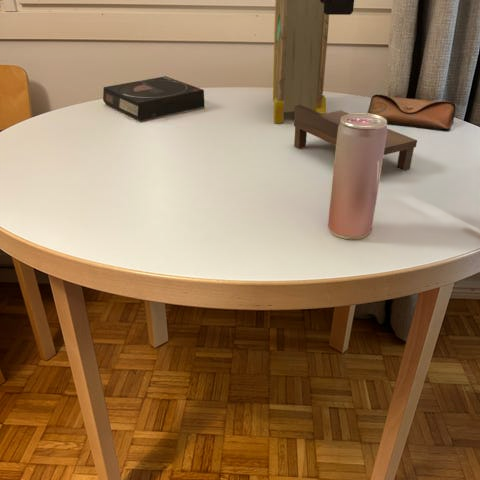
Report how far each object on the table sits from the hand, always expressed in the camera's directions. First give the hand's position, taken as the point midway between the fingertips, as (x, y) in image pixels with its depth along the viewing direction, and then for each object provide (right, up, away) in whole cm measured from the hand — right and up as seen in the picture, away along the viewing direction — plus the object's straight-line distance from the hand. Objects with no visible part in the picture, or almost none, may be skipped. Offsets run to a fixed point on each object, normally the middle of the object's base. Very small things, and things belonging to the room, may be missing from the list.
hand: (335, 8), depth 62 cm
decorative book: (+1, +9, +56) cm, 56 cm away
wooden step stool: (+8, -7, +33) cm, 35 cm away
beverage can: (+4, -25, +11) cm, 27 cm away
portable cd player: (-31, +12, +59) cm, 68 cm away
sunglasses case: (+24, +5, +49) cm, 55 cm away
